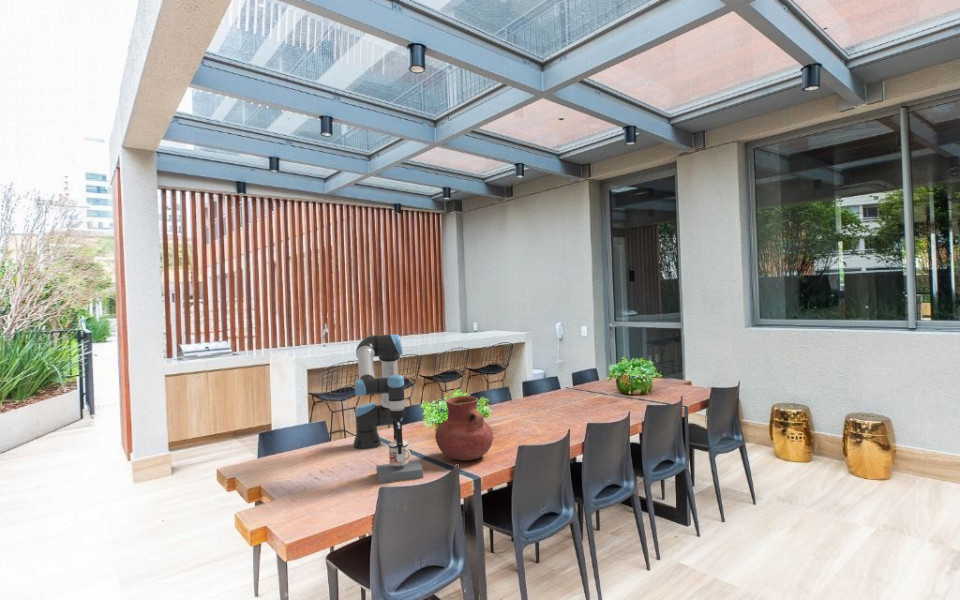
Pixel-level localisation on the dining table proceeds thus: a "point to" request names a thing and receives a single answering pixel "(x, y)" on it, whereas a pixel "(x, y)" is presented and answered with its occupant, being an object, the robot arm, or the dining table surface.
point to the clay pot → (464, 430)
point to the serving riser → (399, 472)
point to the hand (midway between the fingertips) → (398, 457)
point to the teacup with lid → (394, 454)
